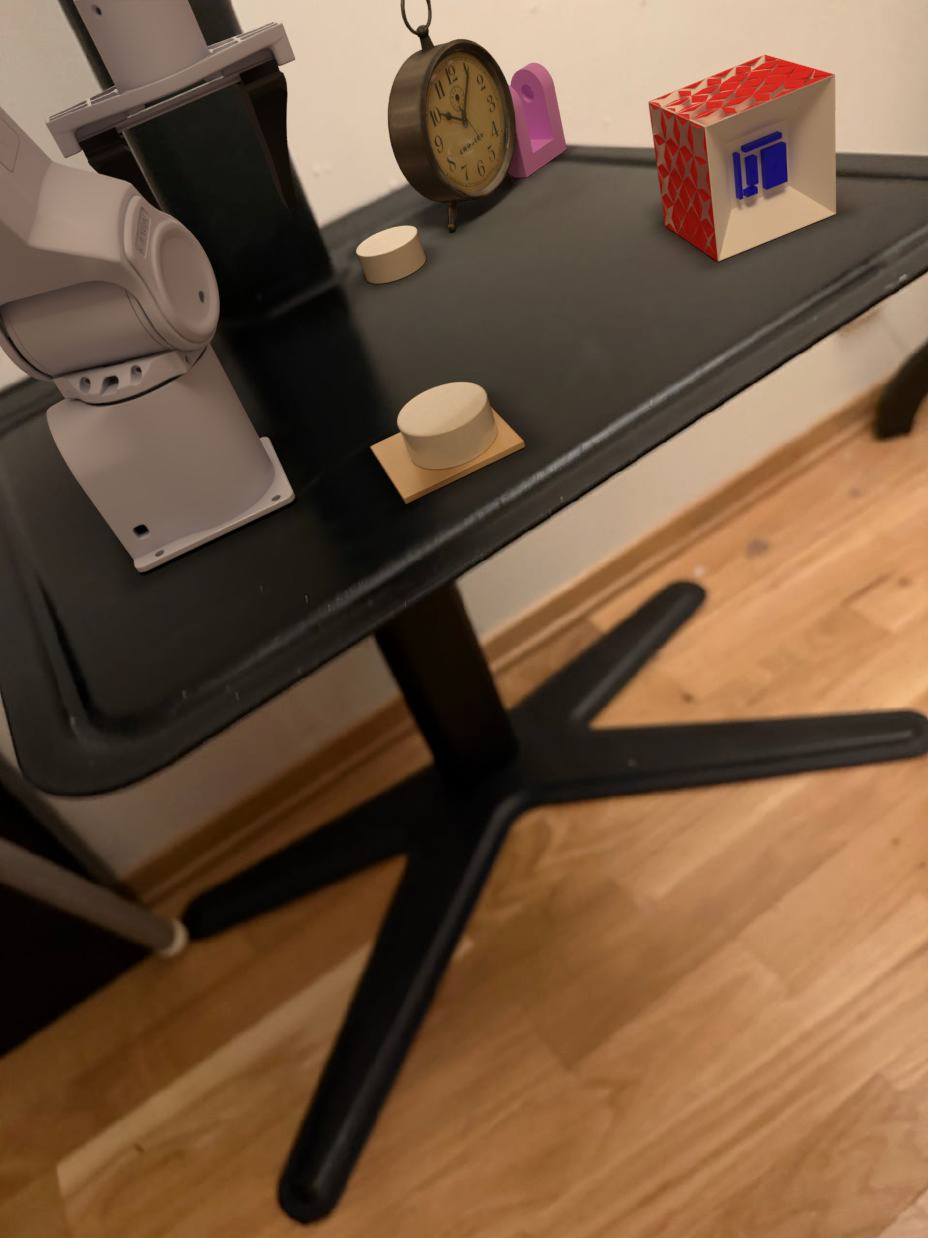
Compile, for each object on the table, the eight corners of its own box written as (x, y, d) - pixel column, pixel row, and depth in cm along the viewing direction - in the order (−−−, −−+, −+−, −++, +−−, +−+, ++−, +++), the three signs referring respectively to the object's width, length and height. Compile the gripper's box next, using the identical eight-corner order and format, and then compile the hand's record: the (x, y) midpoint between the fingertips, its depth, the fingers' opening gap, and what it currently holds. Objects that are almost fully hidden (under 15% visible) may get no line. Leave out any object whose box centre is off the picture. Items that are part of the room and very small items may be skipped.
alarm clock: (458, 239, 71) (388, 2, 60) (409, 238, 74) (334, 14, 63) (534, 177, 76) (482, -52, 65) (485, 179, 79) (428, -38, 68)
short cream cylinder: (427, 482, 47) (413, 447, 45) (398, 442, 50) (384, 409, 49) (512, 441, 47) (501, 405, 46) (477, 404, 51) (466, 370, 49)
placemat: (406, 504, 47) (403, 498, 46) (372, 451, 51) (369, 446, 51) (525, 447, 47) (523, 440, 47) (481, 400, 52) (479, 394, 52)
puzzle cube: (772, 182, 62) (765, 53, 56) (836, 213, 56) (835, 73, 50) (663, 226, 62) (646, 101, 56) (716, 262, 56) (703, 127, 50)
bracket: (566, 148, 79) (549, 60, 74) (526, 177, 76) (506, 88, 72) (463, 150, 87) (442, 71, 82) (424, 175, 85) (400, 96, 80)
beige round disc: (376, 290, 68) (365, 262, 67) (358, 272, 72) (348, 245, 71) (435, 263, 69) (426, 235, 67) (414, 246, 72) (405, 219, 71)
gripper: (233, -70, 52) (324, 170, 61) (-2, 27, 51) (126, 258, 60) (255, -72, 47) (350, 192, 56) (-7, 37, 45) (134, 289, 54)
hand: (236, 228), depth 57 cm, fingers open, 7 cm apart
